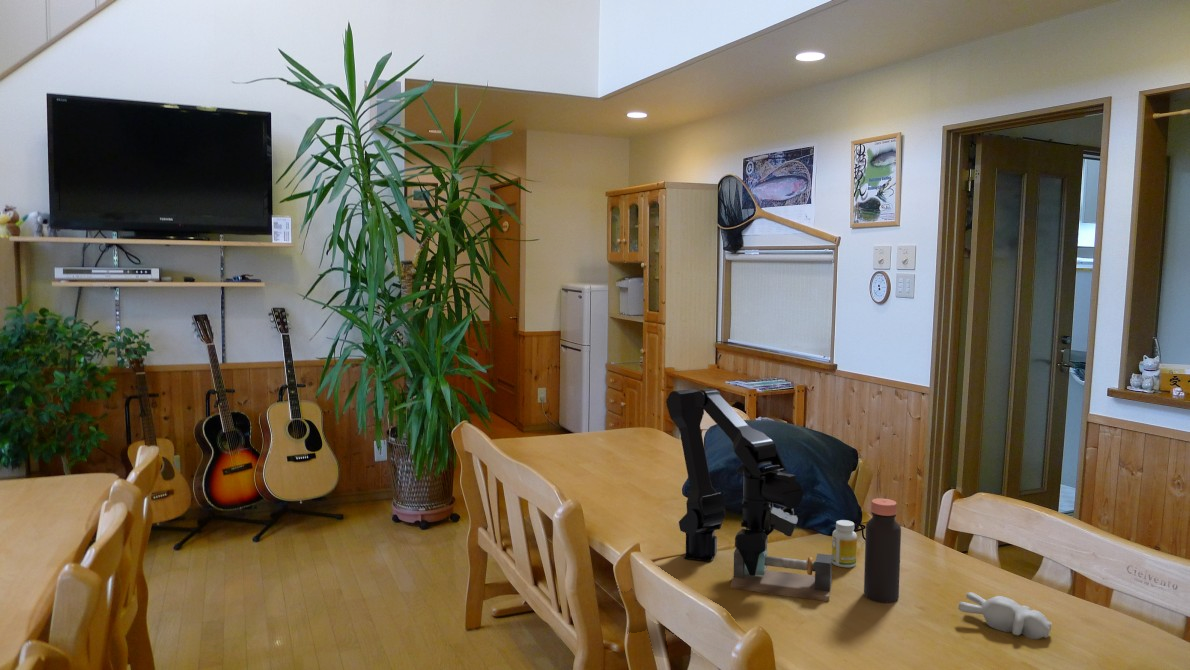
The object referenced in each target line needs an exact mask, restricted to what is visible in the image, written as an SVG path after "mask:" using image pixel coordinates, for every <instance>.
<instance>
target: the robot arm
mask: <svg viewBox="0 0 1190 670" xmlns="http://www.w3.org/2000/svg"><path fill="white" fill-rule="evenodd" d="M665 404H666V407H667V412H668V414H669V417H670V420H671V421H672V422H673V423H674V424H675V426H676V427H677V428H678V431H679V435H680V436H679V437H680V441H681V445H682V451H683V457H684V461H685V467H686V472H687V478H688V483H689V489H690V491H689V493H688V497H687V500H686V513H685V514H684V516H682V518H681V519H679V521H678V526H679V531H680V532H682V533H685V553H684V555H683V558H684V559H685V560H686V559H687V560H695V561H702V562H712V560H713V559H714V557H716V556H717V555H716V554H717V553H718V536H717V535H716V533H715V532H716V531H717V530H721V528H722V524H723V521H724V519H726V510H727V508H726V506H725V501H724V495H723V493H722V492H717V491H716V489H714V487H713V486H712V481H711V475H710V470H709V465H708V460H707V456H706V455H707V454H706V450H705V445H704V440H703V435H702V433H703V432H702V430H701V424H702V420H703V417H704V414H705V413H706V414H707V415H708V416H709V418H711V419H712V421H713V422H714V423H715V424H716V425H717V426H718V427H719V428H720V429H721V431H722V432H723V433H724V434H725V435H726V436H727V437H728V438H729V439H730V441H731V442H732V445H733V452H734V453H735V455H736V456H737V458H738V459H739V461H740V462H741V465H740V466H739V467H737V468H736V473H739V474H742V475H743V481H742V482H743V483H742V484H743V485H742V486H743V487H742V489H743V492H742V493H743V494H742V497H743V498H742V501H741V509H742V520H741V523H740V524H741V525H740V526H741V529H740V530H739V531H738V532H737V533H736V535H735V538H734V547H735V548H737V549H738V550H739V552H740V554H741V556H742V558H743V560H744V563H745V565H746V567H747V569H748V572H749V574H750V575H752V576H755V574H756V569H757V565H758V560H759V555H760V554H761V553H762V552H764V551H765V550H766V548H767V549H768V537H769V536H770V535H771V533H773V531H774V530H776V531H778V532H780V533H782V534H783V535H785V536H786V537H792V536H793V533H794V530H795V529H796V526H797V523H798V520H799V518H798V515H795V511H794V509H796V508H797V507H798V506H799V505H800V503H801V501H802V499H803V493H804V492H803V491H804V490H803V489H802V486H801V484H800V482H798V481H797V479H796V478H797V477H796V476H797V475H796V474H792V473H786V471H787V469H786V466H785V463H784V461H783V460H782V457H781V455H780V454H779V452H778V448H777V446H776V445H777V444H775V442H774V440H772V439H771V438H770V437H769V436H768V435H766V434H765V433H764V432H762V431H761V430H757V429H756V428H753V427H751V426H750V425H748V423H746V421H745V420H744V419H743V418H742V417H741V416H740V415H739V414H738V413H737V412H736V410H734V408H733V407H732V406H731V405H730V403H728V402H727V401H726V400H725V399H724V397H723V396H722V395H721V392H720V390H718V389H715V388H706V389H699V390H697V389H696V388H688V389H687V388H686V389H680V390H672V391H671V392H670V393H668V397H666V403H665ZM770 464H771V465H770ZM760 466H761V467H760ZM774 504H775V505H776V506H779V508H777V507H775V506H774ZM780 507H783V508H780ZM744 528H745V529H744Z"/></svg>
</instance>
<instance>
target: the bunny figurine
mask: <svg viewBox="0 0 1190 670" xmlns="http://www.w3.org/2000/svg"><path fill="white" fill-rule="evenodd" d="M966 599H967V600H969V601H971V602H973V603H970V602H969V603H968V602H966V601H965V602H964V601H960V602H959V603H958V606H957V607H958V608H957V609H958V610H959V611H960V612H962V613H965V614H966V613H968V614H976V615H977V614H978V615H982V616H983V618H984V620H985V622H986V624H987V625H988V626H989V627H990V628H993V629H996V630H997V631H1001V632H1003V633H1004V632H1005V633H1006V632H1012V635H1015V636H1020V635H1021V634H1022V635H1023V636H1024V637H1025V638H1028V639H1031V640H1039V639H1041V638H1045V639H1047V638H1048V636H1049V634H1050V632H1051V630H1052V624H1053V622H1051V621H1049V619H1048V618H1046V616H1045V615H1044V614H1043V613H1042V612H1041V611H1039V610H1036V609H1031V607H1029V606H1028V605H1020V604H1019V603H1018V602H1016V601H1015V600H1014V599H1011V598H1009V597H1005V596H1003V595H995V596H993V597H990V598H988V599H984V598H983V597H981V596H980V595H978V594H977V593H975V592H971V591H970V592H967V593H966ZM977 604H978V605H977Z"/></svg>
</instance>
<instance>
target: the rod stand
mask: <svg viewBox="0 0 1190 670" xmlns="http://www.w3.org/2000/svg"><path fill="white" fill-rule="evenodd" d="M832 564H833V563H832V554H825V553H816V557H815V561H814V559H813V556H812V557H811V556H808V557H807V560H804V559H803V560H802V559H796V558H795V559H794V558H786V557H780V556H779V557H778V556H769V555H767V556H765V560H764V565H766V566H767V567H777V568H783V569H791V570H797V571H798V570H800V571H806V572H807V574H804V573H803V574H802V573H796V572H795V573H794V572H787V571H779V570H771V569H770V570H769V569H766V570H765V573H764V576H763V575H755V576H752V575H750V574H747V573H745V563H744V560H743V558H742V556H741V554H740V552H739V550H738V549H737V547H735V550H734V551H733V577H732V580H731V582H730V589H733V588H734V589H736V590H741V591H750V592H757V593H766V594H771V595H772V594H773V595H781V596H787V597H794V598H802V599H808V600H818V601H825V602H830V596H831V588H832V583H833V578H832V567H833V566H832ZM813 572H814V575H813ZM734 589H733V590H734Z"/></svg>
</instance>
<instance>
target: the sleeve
mask: <svg viewBox="0 0 1190 670" xmlns="http://www.w3.org/2000/svg"><path fill="white" fill-rule="evenodd" d="M765 556H768V547H767V548H766V550H765V551H764V552H762V553H761V554H760V555H759V560H758V565H757V569H756V574H755V575H763V576H764V573H765V570H767V567H768V566H766V565H764V560H765ZM745 573H747V574H749V572H748V569H747V567H746V565H745Z"/></svg>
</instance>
